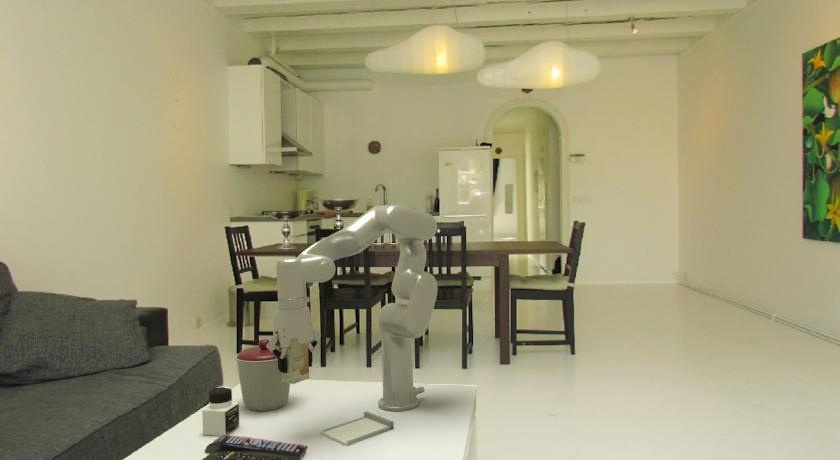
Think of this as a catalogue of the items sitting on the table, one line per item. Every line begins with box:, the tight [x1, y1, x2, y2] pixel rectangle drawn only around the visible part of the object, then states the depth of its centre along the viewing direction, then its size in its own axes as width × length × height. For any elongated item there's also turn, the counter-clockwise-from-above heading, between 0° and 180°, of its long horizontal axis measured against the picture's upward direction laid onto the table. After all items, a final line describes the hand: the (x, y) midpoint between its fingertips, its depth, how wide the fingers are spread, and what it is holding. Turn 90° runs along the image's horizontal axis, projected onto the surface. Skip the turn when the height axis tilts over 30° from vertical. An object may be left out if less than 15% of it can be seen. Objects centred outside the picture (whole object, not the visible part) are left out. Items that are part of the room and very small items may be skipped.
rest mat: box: [319, 411, 395, 447], centre depth 153 cm, size 16×12×2 cm
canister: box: [234, 338, 291, 412], centre depth 176 cm, size 18×18×21 cm
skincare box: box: [282, 338, 310, 385], centre depth 151 cm, size 6×4×12 cm
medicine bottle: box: [201, 386, 240, 437], centre depth 155 cm, size 7×7×12 cm
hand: (295, 368), depth 151 cm, fingers closed on skincare box, 6 cm apart
